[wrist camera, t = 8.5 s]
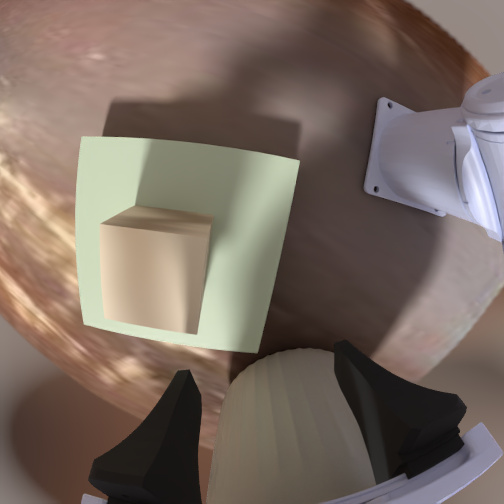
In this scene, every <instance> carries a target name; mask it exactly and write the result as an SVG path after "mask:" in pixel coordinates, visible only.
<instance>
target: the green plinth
mask: <svg viewBox="0 0 504 504" xmlns="http://www.w3.org/2000/svg"><path fill="white" fill-rule="evenodd" d="M299 163H300V161H299V160H295V159H290V158H285V157H280V156H275V155H270V154H265V153H260V152H254V151H248V150H242V149H236V148H230V147H223V146H216V145H208V144H200V143H191V142H182V141H172V140H160V139H146V138H127V137H82V138H81V145H80V153H79V162H78V172H77V186H76V210H75V236H76V260H77V274H78V284H79V294H80V302H81V309H82V316H83V322H84V324H85V325H88V326H92V327H96V328H100V329H104V330H109V331H113V332H117V333H122V334H126V335H131V336H136V337H141V338H146V339H151V340H157V341H163V342H168V343H174V344H181V345H188V346H194V347H202V348H210V349H218V350H227V351H237V352H248V353H258V350H259V346H260V342H261V338H262V334H263V329H264V325H265V321H266V317H267V313H268V309H269V304H270V300H271V296H272V291H273V287H274V283H275V278H276V274H277V269H278V265H279V260H280V256H281V251H282V247H283V242H284V238H285V233H286V228H287V223H288V219H289V214H290V209H291V204H292V199H293V194H294V189H295V184H296V179H297V174H298V169H299ZM134 205H138V206H147V207H156V208H164V209H172V210H180V211H188V212H196V213H203V214H211V215H214V218H213V225H212V233H211V240H210V248H209V256H208V264H207V273H206V282H205V290H204V296H203V302H202V308H201V314H200V320H199V327H198V333H197V335H194V334H187V333H180V332H174V331H167V330H161V329H155V328H150V327H144V326H139V325H134V324H129V323H124V322H119V321H114V320H110V319H105V318H104V309H103V299H102V287H101V271H100V224H101V223H102V222H104V221H106V220H108V219H110V218H111V217H113V216H115V215H117V214H119V213H121V212H123V211H124V210H126V209H128V208H130V207H132V206H134Z"/></svg>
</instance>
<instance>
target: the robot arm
mask: <svg viewBox="0 0 504 504" xmlns="http://www.w3.org/2000/svg"><path fill="white" fill-rule="evenodd" d="M388 103H389V104H390V108H389V107H388ZM375 186H376V187H377V190H376V192H374V187H375ZM364 191H365V192H366V193H368V194H371V195H375V196H378V197H382V198H385V199H389V200H392V201H395V202H398V203H402V204H405V205H408V206H411V207H414V208H417V209H420V210H423V211H426V212H429V213H432V214H435V215H438V216H441V217H444V216H445V215H446V213H448V214H451V215H454V216H456V217H459V218H462V219H465V220H467V221H470V222H472V223H475V224H478V225H480V226H482V227H484V228H485V229H486V231H487V233H488V236H489V237H491V238H493V239H495V240H497V241H500V242H502V247H503V252H504V72H501V73H499V74H495V75H492V76H490V77H487V78H485V79H483V80H481V81H479V82H477V83H476V84H474V85H473V86H472V87H470V88H469V89H468V90H467V92H466V93H465V96H464V100H463V102H462V104H461V107H456V108H447V109H439V110H431V111H424V112H418V113H416V112H414V111H412V110H410V109H408V108H406V107H404V106H402V105H400V104H398V103H396V102H394V101H392V100H389V99H387V98H385V97H382V98H379V99H378V103H377V111H376V118H375V125H374V132H373V138H372V145H371V150H370V156H369V162H368V167H367V172H366V177H365V182H364ZM435 209H436V210H435ZM334 373H335V376H336V379H337V381H338V384H339V387H340V389H341V391H342V393H343V395H344V397H345V399H346V401H347V403H348V405H349V407H350V409H351V411H352V413H353V415H354V417H355V419H356V421H357V423H358V425H359V428H360V431H361V434H362V437H363V439H364V443H365V446H366V449H367V452H368V455H369V459H370V462H371V466H372V470H373V474H374V478H375V482H376V486H373V487H371V488H368V489H365V490H362V491H360V492H357V493H354V494H351V495H347V496H344V497H341V498H338V499H334V500H330V501H327V502H323V503H319V504H440V503H442V502H443V501H445V500H446V499H448V498H449V497H451V496H453V495H454V494H455V493H457V492H458V491H460V490H461V489H463V488H464V487H465V486H467V485H468V484H470V483H471V482H472V481H474V480H475V479H476V478H478V477H479V476H480V475H481V474H483V473H484V472H485V471H486V470H487V469H488V468H489V467H490V466H491V465H492V464H493V463H495V462H496V461H497V460H498V459H499V458H500V457H501V456H502V455H503V451H502V450H501V448H500V447H499V445H498V444H497V442H496V441H495V440H494V438H493V437H492V435H491V434H490V433H489V431H488V430H487V429H486V427H485V426H484V424H483V423H482V422H481V423H479V424H478V425H476V426H475V427H474V428H472V429H471V430H469V431H468V432H467V433H465V434H464V435H463V436H462V437H460V436H459V434H458V433H460V430H459V428H458V427H457V426H458V424H459V423H460V421H461V419H462V418H463V416H464V414H465V413H466V409H467V407H466V406H465V404H464V403H463V401H462V400H461V399H460V398H459V397H458V396H457V395H456V394H451V393H445V392H440V391H435V390H432V389H428V388H425V387H422V386H419V385H416V384H414V383H411V382H409V381H406V380H404V379H402V378H400V377H398V376H396V375H394V374H393V373H391V372H389V371H387V370H386V369H384V368H383V367H381V366H380V365H378V364H377V363H375V362H374V361H373V360H371V359H370V358H368V357H367V356H366V355H364V354H363V353H362V352H361V351H359V350H358V349H357V348H356V347H354V346H353V345H352V344H351V343H350V342H348V341H347V340H343V341H339V342H336V343H334ZM201 415H202V403H201V394H200V392H199V390H198V387H197V385H196V383H195V381H194V379H193V376H192V374H191V372H190V370H180V371H177V373H176V374H175V376H174V378H173V379H172V381H171V383H170V384H169V386H168V388H167V389H166V391H165V392H164V394H163V395H162V397H161V398H160V400H159V401H158V403H157V404H156V406H155V407H154V408H153V410H152V411H151V412H150V414H149V415H148V416H147V417H146V419H145V420H144V421H143V422H142V423H141V424H140V426H139V427H138V428H137V429H136V430H134V431H133V432H132V433H131V434H130V435H129V436H128V437H127V438H126V439H125V440H123V441H122V442H121V443H119V444H118V445H117V446H115V447H114V448H113V449H111V450H110V451H108V452H106V453H105V454H103V455H101V456H100V457H98V458H96V459H94V462H93V465H92V468H91V471H90V475H89V479H88V480H89V482H90V483H91V484H92V485H93V486H94V487H95V488H97V489H98V490H100V491H101V492H103V493H104V494H106V495H107V496H109V497H108V501H107V500H104V499H102V498H98V497H94V496H91V495H88V494H83V498H82V502H81V504H202V501H201V493H200V485H199V471H198V444H199V434H200V425H201Z"/></svg>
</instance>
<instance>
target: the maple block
mask: <svg viewBox="0 0 504 504" xmlns="http://www.w3.org/2000/svg"><path fill="white" fill-rule="evenodd" d="M213 218H214V215H211V214H203V213H196V212H188V211H180V210H172V209H164V208H156V207H147V206H138V205H134V206H132V207H130V208H128V209H126V210H124V211H123V212H121V213H119V214H117V215H115V216H113V217H111V218H110V219H108V220H106V221H104V222H102V223H101V224H100V271H101V287H102V299H103V309H104V318H105V319H110V320H114V321H119V322H124V323H129V324H134V325H139V326H144V327H150V328H155V329H161V330H167V331H174V332H180V333H187V334H194V335H197V333H198V327H199V320H200V314H201V308H202V302H203V296H204V290H205V282H206V273H207V264H208V256H209V248H210V240H211V233H212V225H213Z"/></svg>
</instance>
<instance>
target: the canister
mask: <svg viewBox="0 0 504 504" xmlns="http://www.w3.org/2000/svg"><path fill="white" fill-rule="evenodd" d="M373 486H376V482H375V478H374V474H373V470H372V466H371V462H370V459H369V455H368V452H367V449H366V446H365V443H364V439H363V437H362V434H361V431H360V428H359V425H358V423H357V421H356V419H355V417H354V415H353V413H352V411H351V409H350V407H349V405H348V403H347V401H346V399H345V397H344V395H343V393H342V391H341V389H340V387H339V384H338V381H337V379H336V376H335V373H334V353H333V352H330V351H324V350H322V349H312V348H307V349H301V348H297V349H293V350H289V349H288V350H286V351H283V352H277V353H275V354H273V355H267V356H266V357H265V358H263V359H259V360H257V361H256V362H255V363H253V364H251V365H249V366H248V367H247V368H246V369H245V370H243V371H241V372H240V373H239V375H238V376H237V377H236V378H235V379H234V380H233V382H232V383H231V385H230V387H229V388H228V390H227V392H226V394H225V398H224V400H223V403H222V408H221V413H220V418H219V423H218V429H217V434H216V440H215V446H214V453H213V460H212V467H211V473H210V481H209V488H208V493H207V500H206V504H319V503H323V502H327V501H330V500H334V499H338V498H341V497H344V496H347V495H351V494H354V493H357V492H360V491H362V490H365V489H368V488H371V487H373Z"/></svg>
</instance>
